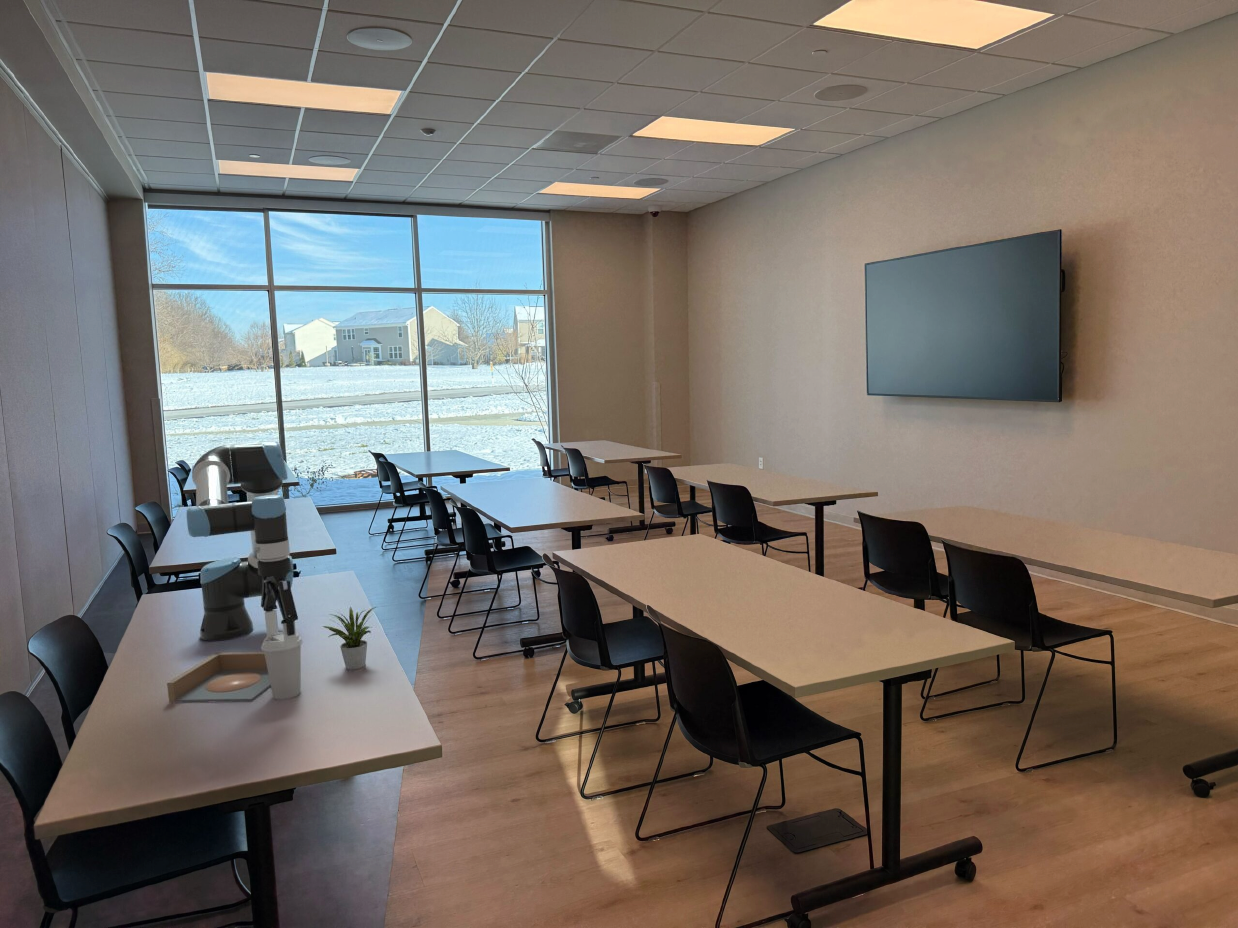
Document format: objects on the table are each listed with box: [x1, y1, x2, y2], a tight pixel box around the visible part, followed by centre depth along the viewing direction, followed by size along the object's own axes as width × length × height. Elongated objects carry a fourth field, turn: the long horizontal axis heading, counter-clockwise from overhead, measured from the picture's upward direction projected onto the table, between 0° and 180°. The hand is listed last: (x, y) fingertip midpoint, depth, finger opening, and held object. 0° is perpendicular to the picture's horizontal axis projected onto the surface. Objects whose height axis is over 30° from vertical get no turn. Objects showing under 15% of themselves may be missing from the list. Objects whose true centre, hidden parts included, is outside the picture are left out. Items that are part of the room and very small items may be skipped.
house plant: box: [322, 606, 377, 670], centre depth 223 cm, size 14×14×16 cm
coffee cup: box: [261, 631, 303, 701], centre depth 204 cm, size 10×10×15 cm
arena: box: [166, 651, 271, 703], centre depth 213 cm, size 22×22×5 cm
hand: (281, 641), depth 203 cm, fingers open, 13 cm apart
